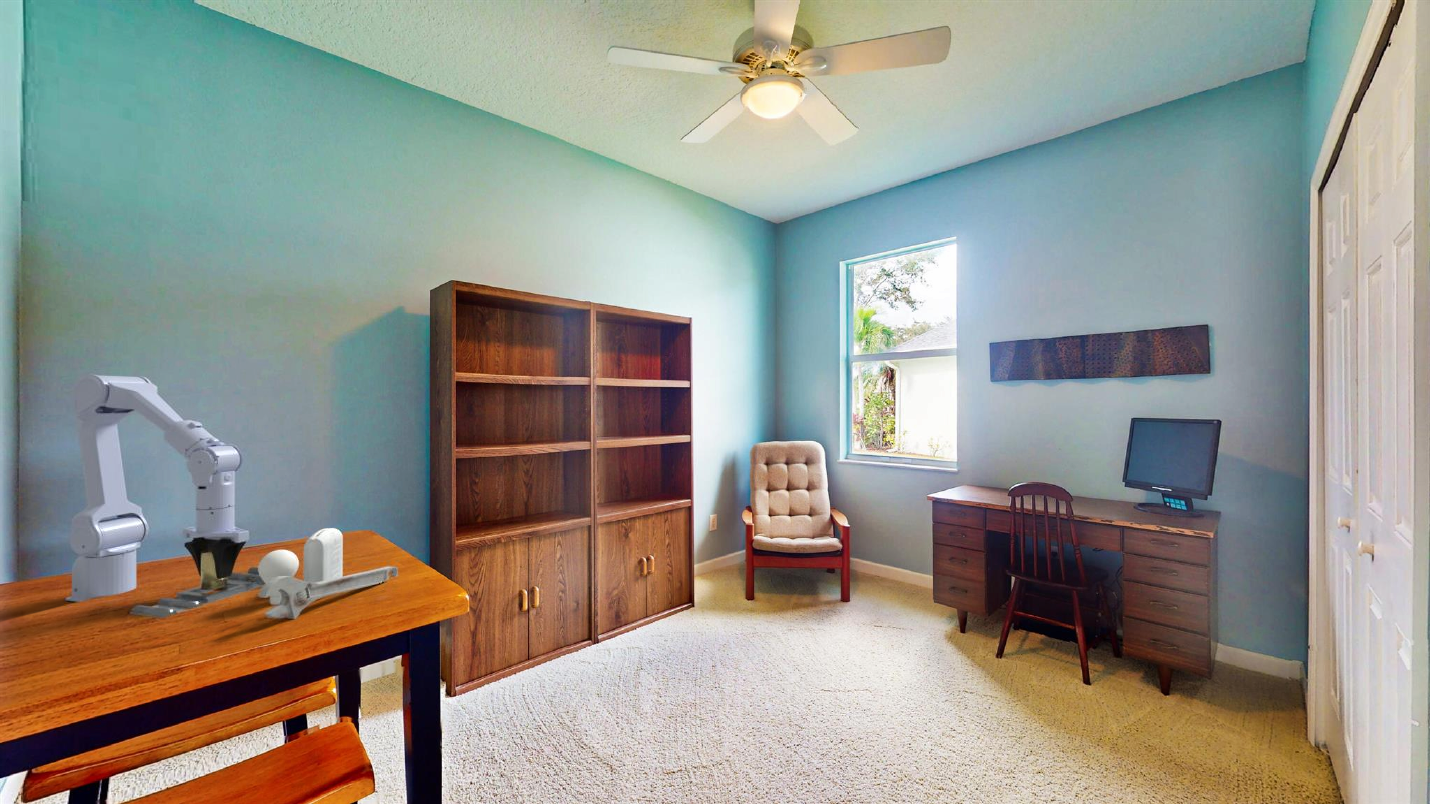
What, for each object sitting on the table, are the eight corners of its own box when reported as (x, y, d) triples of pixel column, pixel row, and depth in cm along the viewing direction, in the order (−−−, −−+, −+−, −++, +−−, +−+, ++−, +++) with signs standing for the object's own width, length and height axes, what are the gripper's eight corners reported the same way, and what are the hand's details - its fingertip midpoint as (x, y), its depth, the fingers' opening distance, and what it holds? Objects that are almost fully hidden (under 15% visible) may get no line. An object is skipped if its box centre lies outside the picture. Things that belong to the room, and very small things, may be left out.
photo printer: (323, 581, 122) (323, 524, 122) (345, 580, 123) (345, 523, 123) (299, 597, 112) (299, 535, 112) (323, 596, 113) (324, 534, 113)
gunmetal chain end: (175, 605, 108) (175, 588, 108) (258, 580, 123) (257, 565, 123) (208, 609, 106) (208, 592, 106) (288, 584, 121) (288, 568, 121)
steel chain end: (128, 619, 101) (128, 607, 101) (221, 591, 116) (221, 581, 116) (162, 624, 99) (162, 612, 99) (253, 595, 114) (253, 584, 114)
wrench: (396, 591, 125) (262, 629, 96) (389, 591, 125) (253, 628, 96) (400, 554, 126) (267, 580, 97) (393, 554, 126) (259, 579, 97)
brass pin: (195, 588, 109) (195, 552, 109) (219, 582, 113) (219, 547, 113) (209, 590, 108) (209, 554, 108) (233, 584, 112) (233, 549, 112)
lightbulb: (255, 608, 107) (255, 550, 107) (294, 600, 111) (295, 544, 111) (261, 617, 102) (261, 556, 102) (302, 608, 107) (302, 550, 107)
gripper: (164, 509, 109) (164, 579, 109) (221, 513, 105) (221, 585, 105) (205, 502, 115) (205, 568, 115) (260, 506, 112) (260, 574, 112)
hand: (215, 576), depth 111 cm, fingers closed on brass pin, 4 cm apart
